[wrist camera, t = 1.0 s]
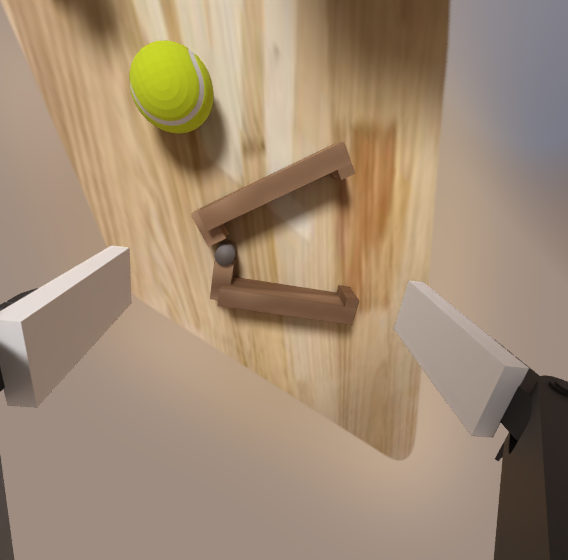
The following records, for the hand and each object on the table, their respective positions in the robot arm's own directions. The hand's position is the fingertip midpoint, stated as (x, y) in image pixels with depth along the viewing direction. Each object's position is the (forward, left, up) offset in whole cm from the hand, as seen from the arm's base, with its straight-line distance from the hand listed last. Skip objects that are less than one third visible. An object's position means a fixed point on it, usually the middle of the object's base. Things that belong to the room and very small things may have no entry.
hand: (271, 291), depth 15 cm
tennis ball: (-10, -10, -21) cm, 25 cm away
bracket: (-3, 0, -21) cm, 21 cm away
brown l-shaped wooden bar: (+6, +3, -21) cm, 22 cm away
